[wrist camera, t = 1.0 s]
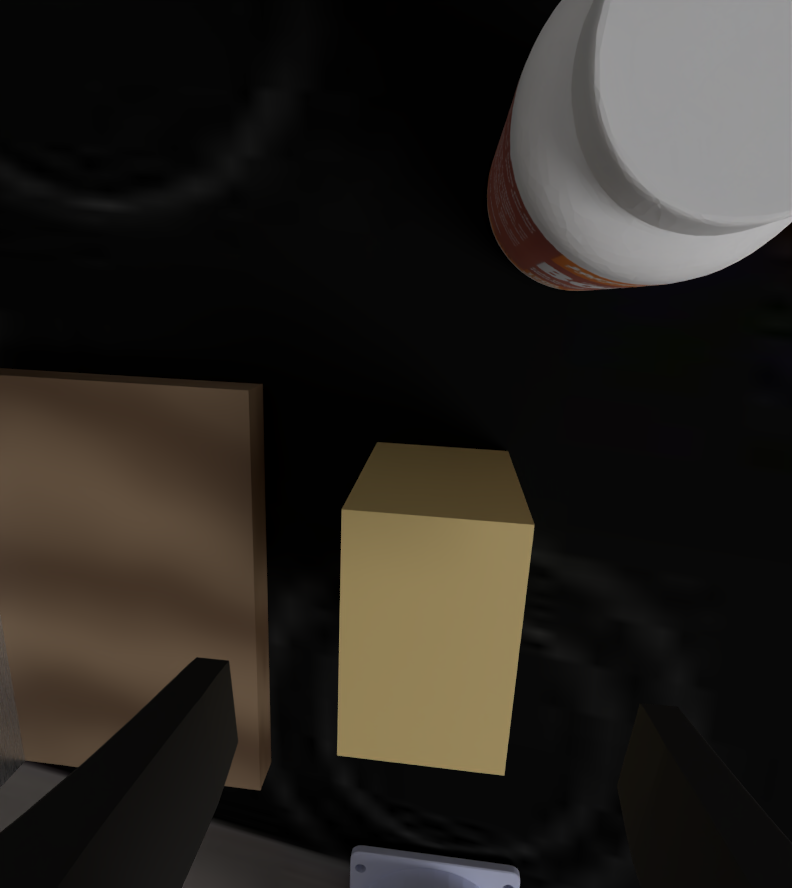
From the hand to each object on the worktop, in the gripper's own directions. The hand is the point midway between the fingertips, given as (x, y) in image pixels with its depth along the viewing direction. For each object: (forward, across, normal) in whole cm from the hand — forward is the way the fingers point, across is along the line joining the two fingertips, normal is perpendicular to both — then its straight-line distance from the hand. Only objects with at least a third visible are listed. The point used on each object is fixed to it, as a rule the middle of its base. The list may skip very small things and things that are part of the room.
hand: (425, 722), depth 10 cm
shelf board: (+11, +13, +7) cm, 18 cm away
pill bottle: (+13, -4, -9) cm, 17 cm away
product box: (+12, 0, +4) cm, 12 cm away
